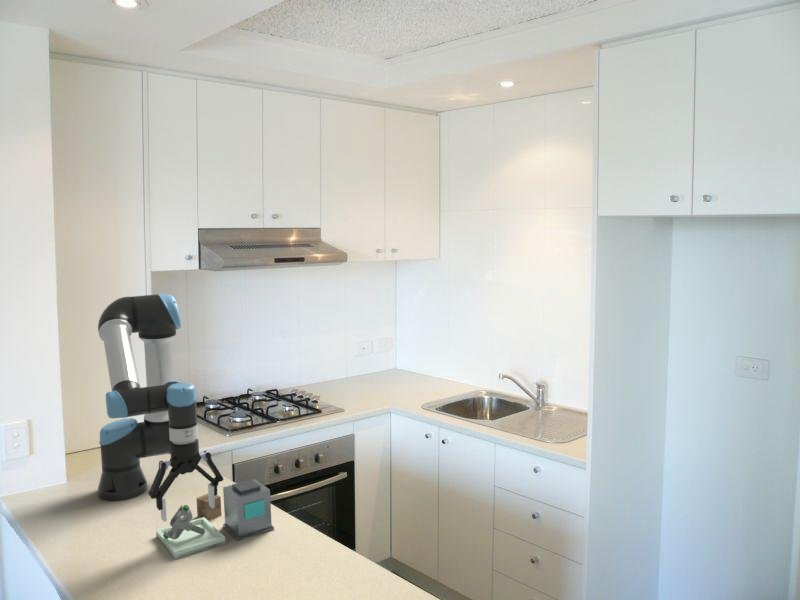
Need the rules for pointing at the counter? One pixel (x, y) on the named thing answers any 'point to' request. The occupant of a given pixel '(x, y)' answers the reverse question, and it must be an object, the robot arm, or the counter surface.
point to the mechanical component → (182, 523)
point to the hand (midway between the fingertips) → (188, 513)
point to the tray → (192, 539)
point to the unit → (247, 509)
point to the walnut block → (208, 507)
